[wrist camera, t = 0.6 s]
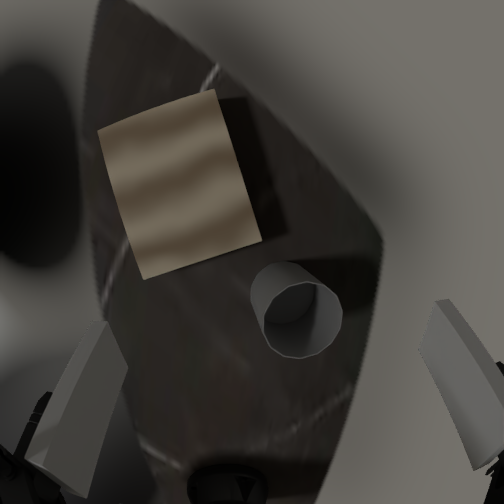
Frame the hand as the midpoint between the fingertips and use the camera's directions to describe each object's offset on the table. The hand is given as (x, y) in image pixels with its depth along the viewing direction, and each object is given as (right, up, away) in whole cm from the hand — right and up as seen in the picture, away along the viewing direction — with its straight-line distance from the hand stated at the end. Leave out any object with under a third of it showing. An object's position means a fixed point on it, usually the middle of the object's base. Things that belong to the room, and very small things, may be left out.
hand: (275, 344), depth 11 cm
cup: (+3, -2, +28) cm, 29 cm away
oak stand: (-10, +12, +24) cm, 29 cm away
